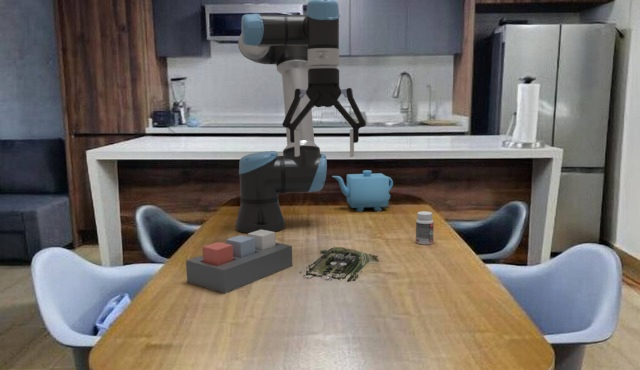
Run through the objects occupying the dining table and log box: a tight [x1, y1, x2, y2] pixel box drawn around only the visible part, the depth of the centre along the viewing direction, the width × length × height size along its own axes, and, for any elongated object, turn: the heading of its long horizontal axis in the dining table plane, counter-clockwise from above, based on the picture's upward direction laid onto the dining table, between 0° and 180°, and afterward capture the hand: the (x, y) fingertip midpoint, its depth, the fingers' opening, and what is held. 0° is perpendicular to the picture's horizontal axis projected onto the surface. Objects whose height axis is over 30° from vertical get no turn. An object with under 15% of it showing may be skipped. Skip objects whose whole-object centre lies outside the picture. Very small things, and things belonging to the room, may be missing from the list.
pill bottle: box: [415, 211, 435, 246], centre depth 146 cm, size 5×5×8 cm
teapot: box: [331, 169, 394, 213], centre depth 190 cm, size 22×11×14 cm, turn 96°
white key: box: [247, 230, 277, 250], centre depth 128 cm, size 5×5×4 cm
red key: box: [202, 241, 233, 266], centre depth 117 cm, size 5×5×4 cm
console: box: [185, 242, 293, 294], centre depth 123 cm, size 12×22×5 cm, turn 143°
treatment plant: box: [297, 246, 380, 282], centre depth 129 cm, size 25×18×4 cm
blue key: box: [225, 234, 255, 258], centre depth 123 cm, size 5×5×4 cm
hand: (324, 156), depth 131 cm, fingers open, 13 cm apart
